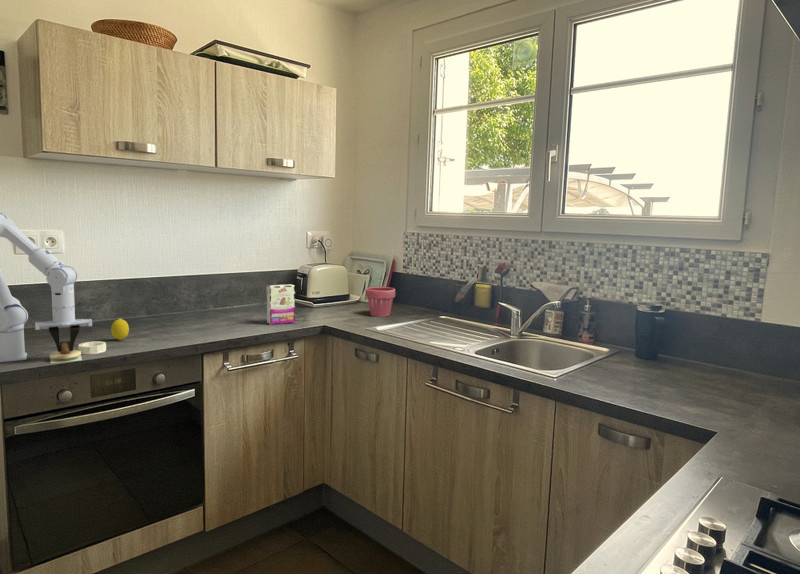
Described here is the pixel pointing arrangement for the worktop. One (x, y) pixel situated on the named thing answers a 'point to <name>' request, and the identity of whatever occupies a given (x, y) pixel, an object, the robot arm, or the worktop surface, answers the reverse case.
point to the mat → (65, 359)
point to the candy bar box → (280, 304)
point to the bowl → (92, 347)
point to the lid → (65, 352)
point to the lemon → (120, 329)
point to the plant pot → (380, 300)
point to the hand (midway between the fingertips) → (65, 350)
